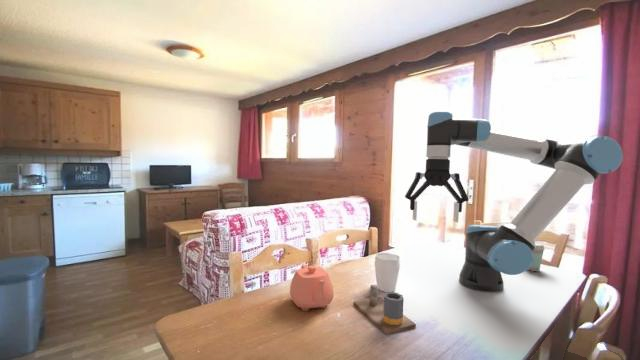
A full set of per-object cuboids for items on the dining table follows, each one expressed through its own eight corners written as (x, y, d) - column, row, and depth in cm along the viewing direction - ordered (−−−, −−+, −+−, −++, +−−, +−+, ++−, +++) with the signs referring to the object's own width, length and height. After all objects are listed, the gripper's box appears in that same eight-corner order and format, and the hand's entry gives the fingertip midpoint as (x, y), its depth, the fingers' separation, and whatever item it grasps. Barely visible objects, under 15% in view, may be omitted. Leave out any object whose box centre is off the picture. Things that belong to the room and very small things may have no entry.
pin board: (353, 304, 96) (353, 283, 96) (379, 299, 100) (380, 279, 100) (386, 334, 80) (387, 309, 79) (415, 327, 83) (416, 303, 83)
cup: (399, 295, 104) (401, 261, 103) (373, 292, 106) (374, 259, 105) (398, 284, 113) (399, 253, 112) (374, 282, 114) (375, 251, 114)
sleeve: (403, 325, 82) (404, 301, 82) (384, 323, 83) (385, 299, 83) (400, 316, 88) (401, 293, 87) (382, 314, 88) (383, 291, 88)
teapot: (301, 324, 84) (302, 282, 83) (284, 294, 102) (284, 259, 102) (344, 316, 89) (345, 276, 88) (320, 289, 107) (321, 256, 106)
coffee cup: (542, 268, 135) (543, 242, 134) (543, 274, 128) (545, 247, 127) (519, 264, 139) (521, 239, 139) (520, 270, 132) (521, 243, 131)
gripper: (472, 159, 103) (469, 220, 104) (398, 157, 106) (396, 216, 107) (481, 159, 95) (477, 224, 96) (401, 157, 98) (399, 220, 100)
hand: (434, 220), depth 102 cm, fingers open, 13 cm apart
